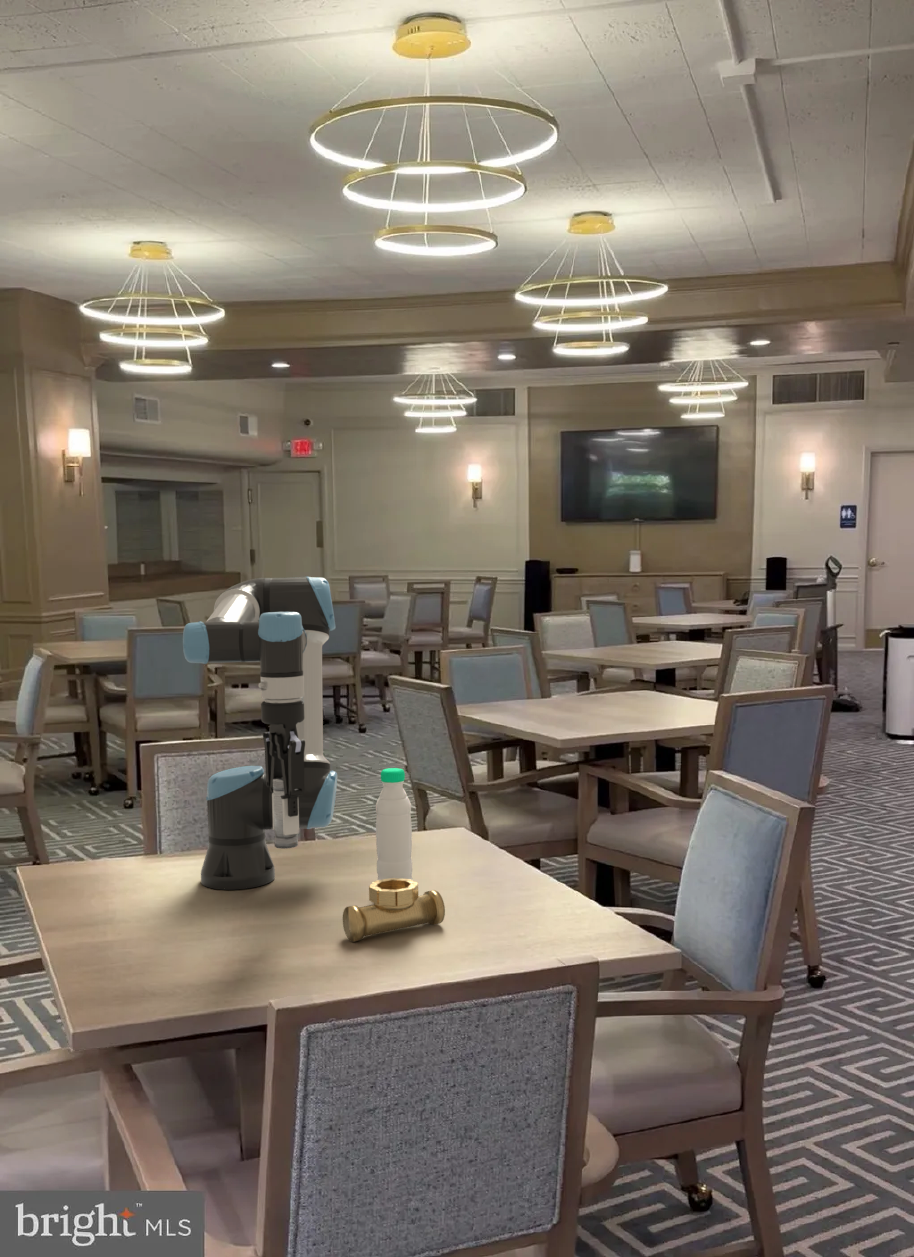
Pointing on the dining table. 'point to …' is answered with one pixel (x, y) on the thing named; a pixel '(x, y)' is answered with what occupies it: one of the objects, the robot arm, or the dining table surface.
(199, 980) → the dining table surface
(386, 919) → the tee fitting
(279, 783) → the metal cylinder
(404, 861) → the water bottle
